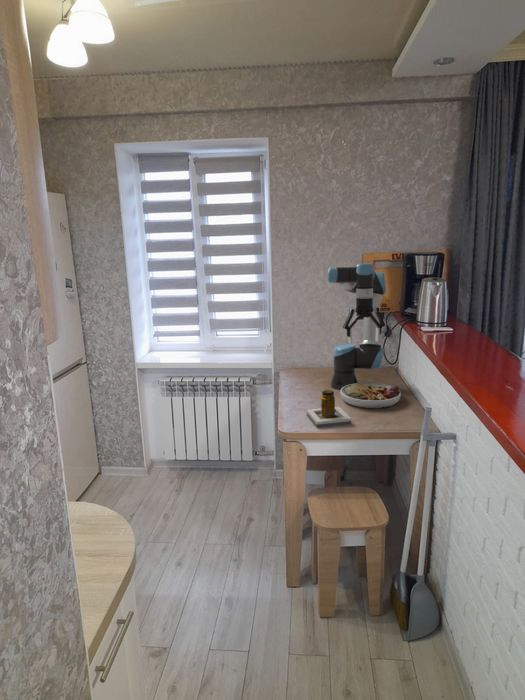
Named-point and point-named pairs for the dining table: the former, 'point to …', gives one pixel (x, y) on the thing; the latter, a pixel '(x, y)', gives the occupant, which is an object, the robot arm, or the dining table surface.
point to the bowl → (370, 395)
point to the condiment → (328, 405)
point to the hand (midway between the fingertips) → (363, 342)
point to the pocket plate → (321, 422)
